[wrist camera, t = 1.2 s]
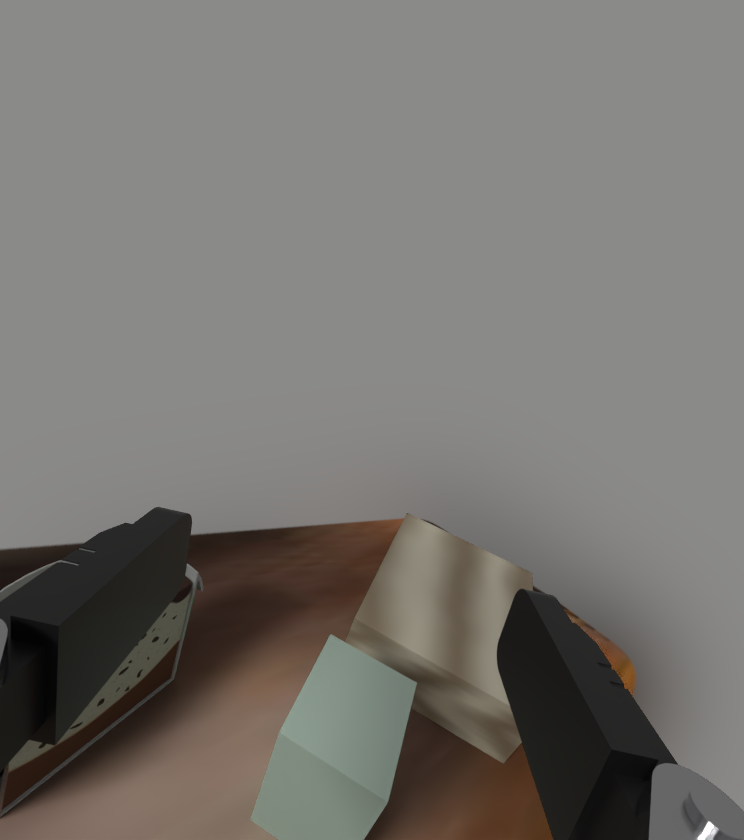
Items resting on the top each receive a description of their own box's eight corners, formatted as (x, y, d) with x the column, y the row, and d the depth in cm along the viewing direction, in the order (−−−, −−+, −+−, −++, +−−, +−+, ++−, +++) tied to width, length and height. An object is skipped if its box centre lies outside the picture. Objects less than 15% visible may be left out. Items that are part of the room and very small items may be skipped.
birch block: (335, 665, 31) (354, 618, 28) (391, 552, 44) (407, 512, 42) (501, 766, 28) (538, 722, 25) (507, 611, 41) (532, 572, 39)
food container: (148, 608, 30) (153, 513, 26) (194, 663, 28) (206, 567, 24) (-86, 750, 20) (-139, 632, 16) (-50, 856, 18) (-101, 748, 14)
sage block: (250, 819, 22) (279, 732, 18) (299, 719, 26) (330, 634, 23) (336, 881, 20) (387, 802, 16) (371, 764, 25) (416, 682, 21)
